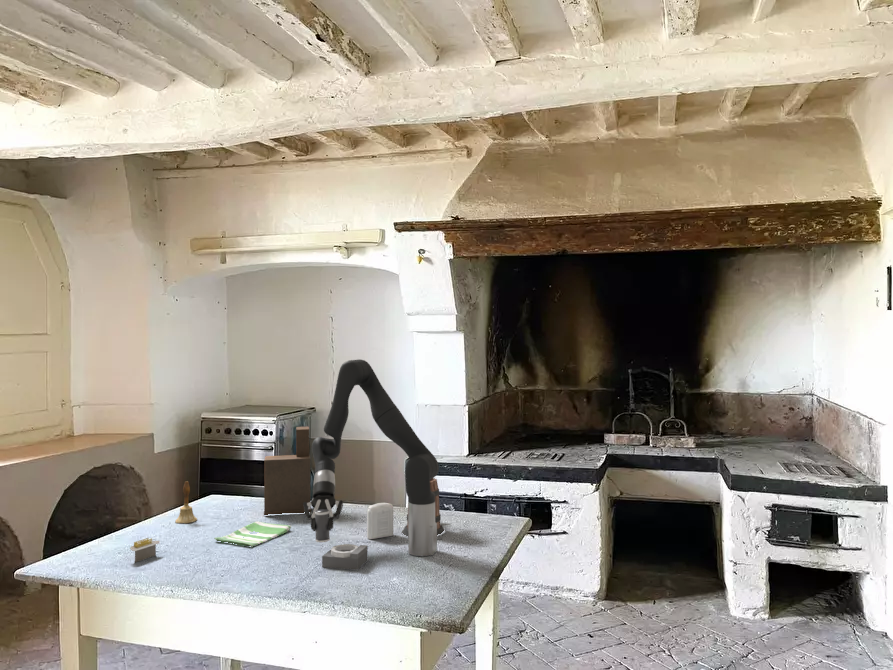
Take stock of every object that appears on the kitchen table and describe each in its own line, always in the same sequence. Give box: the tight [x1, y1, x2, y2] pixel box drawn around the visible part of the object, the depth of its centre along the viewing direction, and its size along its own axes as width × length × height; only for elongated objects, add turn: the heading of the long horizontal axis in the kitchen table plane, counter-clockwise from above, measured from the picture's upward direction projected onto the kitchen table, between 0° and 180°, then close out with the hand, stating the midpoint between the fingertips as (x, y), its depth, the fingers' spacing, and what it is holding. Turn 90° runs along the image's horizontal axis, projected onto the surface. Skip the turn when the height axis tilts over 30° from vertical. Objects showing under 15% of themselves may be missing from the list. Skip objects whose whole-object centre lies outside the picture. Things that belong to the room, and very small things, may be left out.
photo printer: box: [366, 502, 394, 540], centre depth 241 cm, size 10×4×12 cm, turn 123°
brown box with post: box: [263, 426, 312, 516], centre depth 279 cm, size 19×14×35 cm
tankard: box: [401, 477, 445, 537], centre depth 250 cm, size 24×17×20 cm
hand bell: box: [175, 480, 198, 525], centre depth 264 cm, size 8×8×16 cm
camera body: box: [321, 543, 369, 571], centre depth 211 cm, size 12×9×5 cm
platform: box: [129, 537, 161, 563], centre depth 217 cm, size 12×18×7 cm, turn 153°
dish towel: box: [214, 521, 292, 548], centre depth 242 cm, size 18×23×3 cm
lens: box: [314, 509, 331, 543], centre depth 220 cm, size 5×5×10 cm
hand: (322, 529), depth 218 cm, fingers closed on lens, 4 cm apart
